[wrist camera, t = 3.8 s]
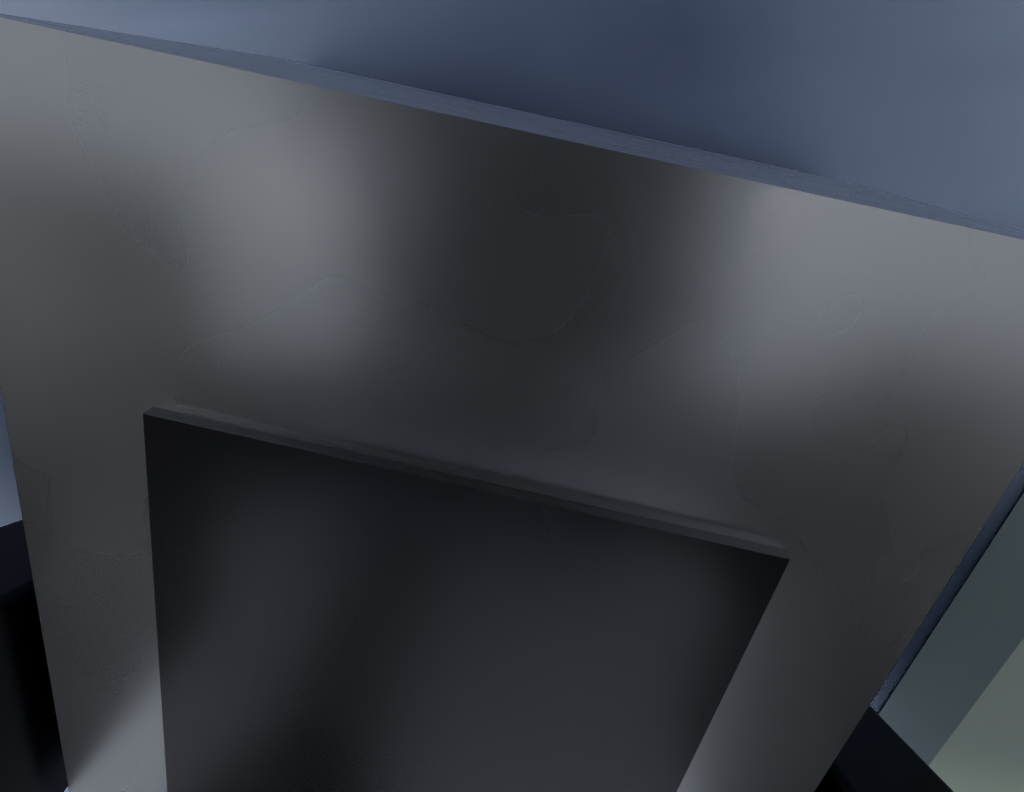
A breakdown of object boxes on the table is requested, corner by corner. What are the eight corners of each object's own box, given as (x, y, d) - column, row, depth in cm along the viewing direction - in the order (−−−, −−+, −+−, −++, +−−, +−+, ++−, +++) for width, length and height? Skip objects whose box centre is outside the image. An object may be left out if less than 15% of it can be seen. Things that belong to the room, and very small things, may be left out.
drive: (600, 778, 11) (609, 1125, 7) (262, 700, 11) (97, 1003, 7) (840, 180, 7) (1166, 272, 3) (285, 59, 7) (-84, 0, 3)
